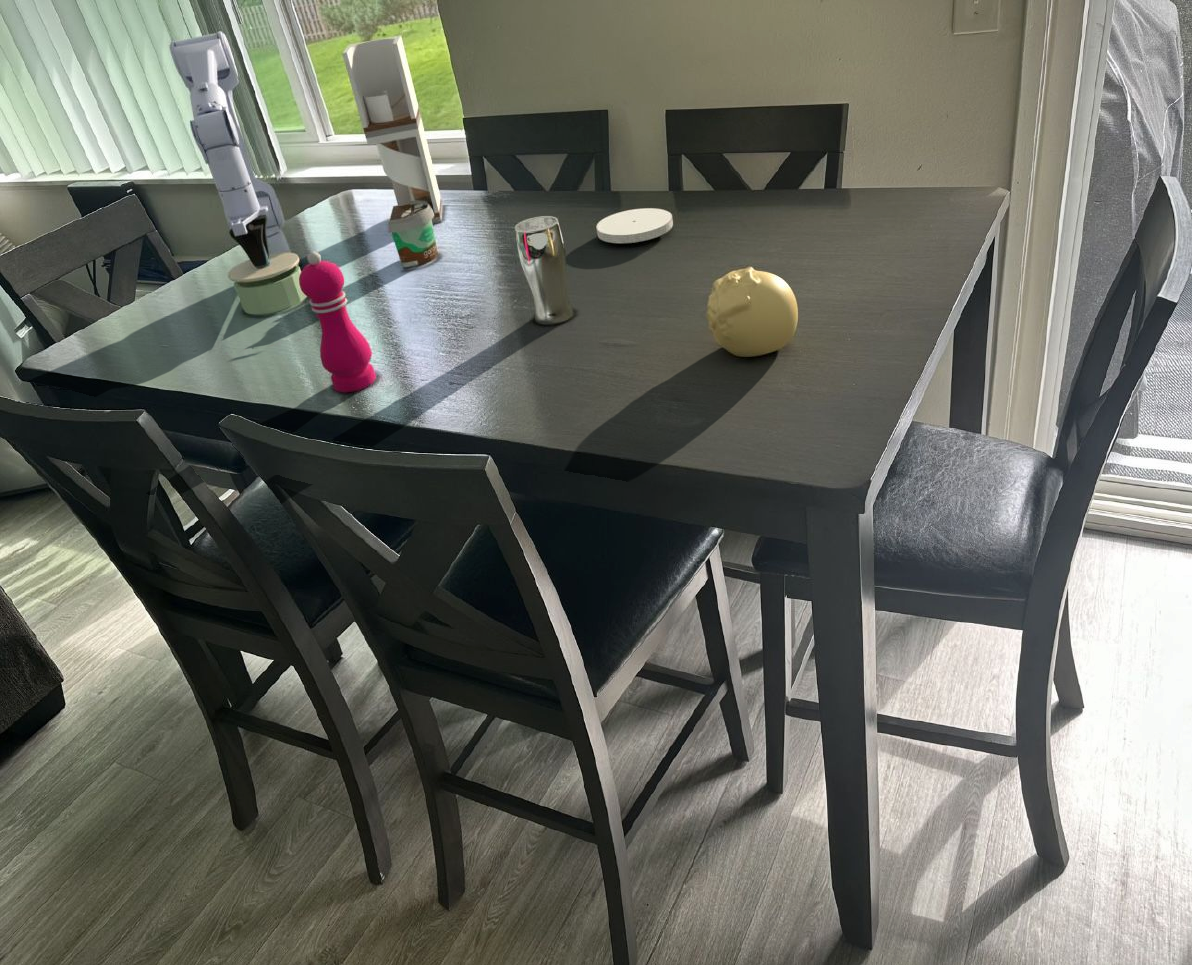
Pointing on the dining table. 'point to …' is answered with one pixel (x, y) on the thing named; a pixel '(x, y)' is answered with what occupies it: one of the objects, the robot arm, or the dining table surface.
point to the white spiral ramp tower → (393, 120)
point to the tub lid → (264, 267)
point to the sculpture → (752, 312)
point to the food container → (414, 234)
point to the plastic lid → (634, 225)
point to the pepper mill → (336, 327)
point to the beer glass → (544, 267)
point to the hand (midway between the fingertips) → (262, 262)
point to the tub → (271, 293)
